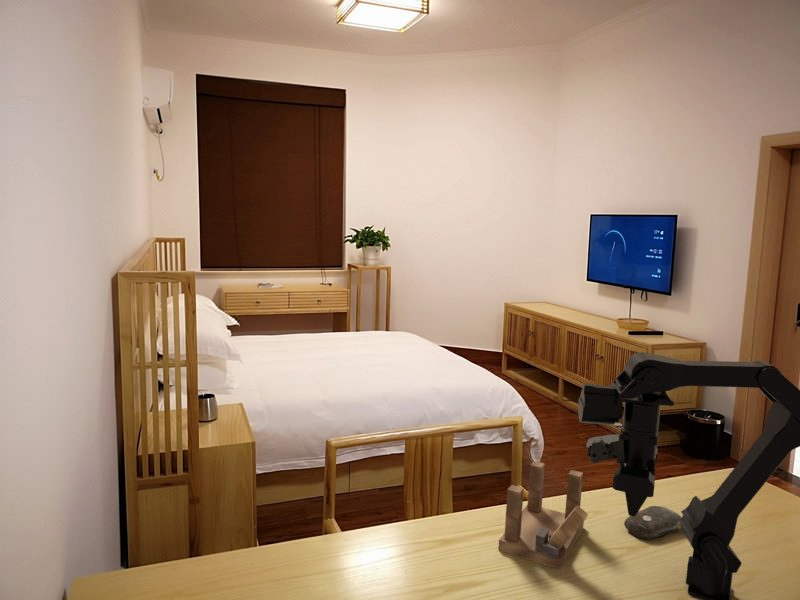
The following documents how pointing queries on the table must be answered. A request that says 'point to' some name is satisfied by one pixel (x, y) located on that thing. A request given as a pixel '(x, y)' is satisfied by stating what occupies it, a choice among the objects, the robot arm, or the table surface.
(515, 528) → the stool seat
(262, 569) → the table surface
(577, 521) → the folding leg
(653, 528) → the stone
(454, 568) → the table surface
